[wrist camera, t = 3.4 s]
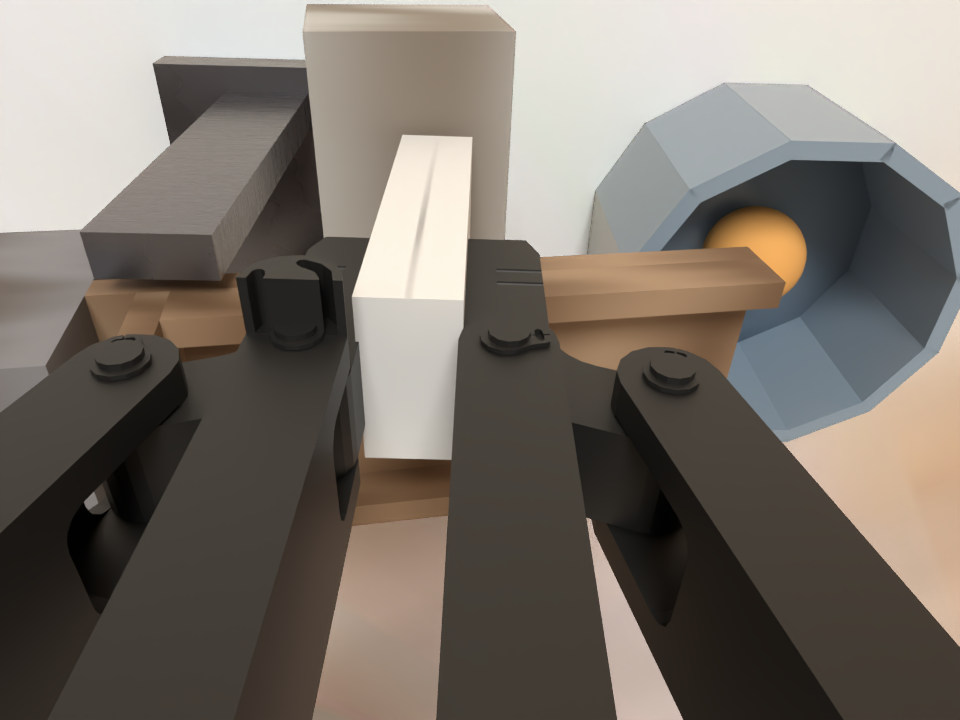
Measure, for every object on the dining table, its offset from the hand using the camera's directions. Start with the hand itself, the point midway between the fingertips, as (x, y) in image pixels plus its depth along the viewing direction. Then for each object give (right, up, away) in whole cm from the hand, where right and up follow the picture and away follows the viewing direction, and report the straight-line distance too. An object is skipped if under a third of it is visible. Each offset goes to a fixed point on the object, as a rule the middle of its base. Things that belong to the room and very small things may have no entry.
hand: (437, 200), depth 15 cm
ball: (+12, +1, +14) cm, 19 cm away
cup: (+12, +2, +16) cm, 20 cm away
